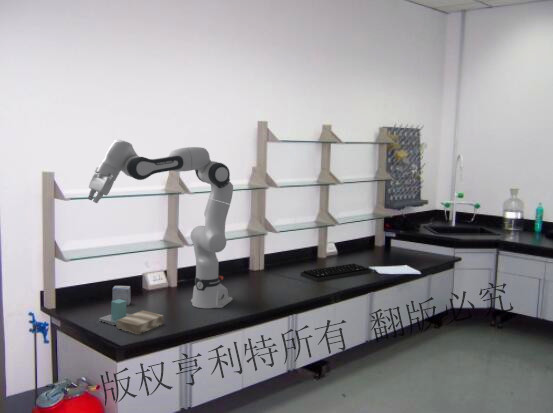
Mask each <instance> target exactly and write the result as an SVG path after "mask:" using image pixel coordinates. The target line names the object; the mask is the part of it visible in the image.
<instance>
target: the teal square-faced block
mask: <svg viewBox="0 0 553 413" xmlns="http://www.w3.org/2000/svg"><path fill="white" fill-rule="evenodd" d="M110 306H111V307H110V308H111V309H110V312H111V318H114V319H118V320H119V319H121V318H124V317H126V313H127V305H126V301H124V300H120V299H118V300H115V301H113V300H111V305H110Z"/></svg>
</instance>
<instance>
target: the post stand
mask: <svg viewBox="0 0 553 413" xmlns="http://www.w3.org/2000/svg"><path fill="white" fill-rule="evenodd" d="M129 315H132V314H131V313H128V312H126V317H127V316H129ZM117 320H118V319H114V318H111V314H108V315H105V316H101V317H99V318H98V322H99V321H102V322H106V323H109V324H108V325H110V324H112V325H111V326H113V325H116V326H115V327H117ZM102 322H101V323H102ZM106 323H105V324H106Z"/></svg>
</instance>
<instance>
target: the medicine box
mask: <svg viewBox="0 0 553 413" xmlns="http://www.w3.org/2000/svg"><path fill="white" fill-rule="evenodd" d="M118 299H120V300H124V301H126V306H129V305H130V304H131V286H130V285H114V286H113V287H112V301H115V300H118Z"/></svg>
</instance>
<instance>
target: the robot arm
mask: <svg viewBox="0 0 553 413" xmlns="http://www.w3.org/2000/svg"><path fill="white" fill-rule="evenodd" d="M210 157H211V156H210V153H209V151H208V150H207V149H206V148H205V147H199V146H198V147H197V146H196V147H195V146H189V147H181V148H177V149H174V150H171V152H170V153H169V155H168V156H165V157H159V158H151V159H150V158H147V157H144V156H139V155H138V153H137V152H136V151H135V149H134V146H133V144H132V143H130V142H128V141H125V140H122V139H115V140H114V141H113V142H112V144H110V146H109V148H108V149H107V151H106V153H105V157H104V158H103V160H102V161H101V162H100V164H99V165H98V167H96V168H95V170H94V174H93V175H92V178H91V179H90V181H89V185H88V188H89V189H90V191H89V194H88V196H87V200H89V201H92V200H93V201H92V202H93V203H94V204H98V203H99V201H100V200H101V199H102V198H103V197H104V196H107V195H109V194H110V191H112V190H111V189H112V188H113V185H114V182H116V180H117V178H118V176H119V175H120V173H121V172H123V174H125V176H127V177H131V178H133V179H135V180H137V181H142V180H143V181H144V180H146V179H148V178H149V177H151V176H152V175H155V174H157V173H158V174H159V173H164V172H190V171H195V175H196V177H197V179H198V180H199V181H201V182H202V183H206V184H209V185H210V194H209V196H208V199H207V203H206V206H205V210H204V214H203V215H204V219H205V221H204V225H198V226H195V227H193V229H192V230H191V232H190V239H191V242H192V245H193V250H194V256H195V277H194V284H195V285H194V286H193V291H192V298H191V299H190V302H191V304H192V306H193V307H195V308H199V309H222V308H224V307H225V306H226V305H227V304H230V303H231V302H232V301H233V297H231V296H229V291H228V288H227V287H226V286H224V285H223V284H222V283H221V281H223V280H224V276H223V275H219V259H218V256H217V253H220V252H222V251H223V250H224V249H225V248H226V246H227V238H226V221H227V217H228V214H229V210H230V206H231V203H232V199H233V194H234V185H233V183H232V182H231V179H230V175H231V174H230V173H231V172H230V170H229V167H228V166H227V165H226V164H224V163H222V162H218V161H214V160H211V158H210ZM96 192H97V193H96ZM95 194H96V196H95ZM94 196H95V197H94Z"/></svg>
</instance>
